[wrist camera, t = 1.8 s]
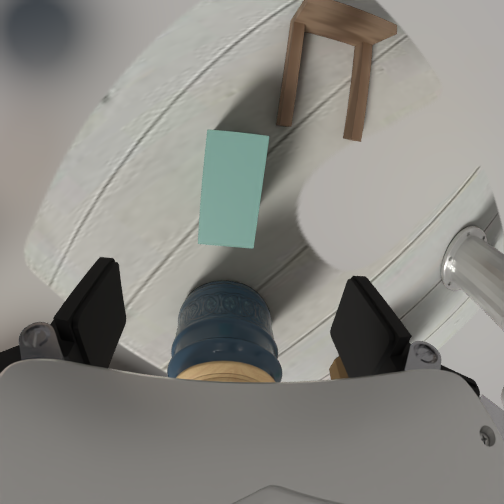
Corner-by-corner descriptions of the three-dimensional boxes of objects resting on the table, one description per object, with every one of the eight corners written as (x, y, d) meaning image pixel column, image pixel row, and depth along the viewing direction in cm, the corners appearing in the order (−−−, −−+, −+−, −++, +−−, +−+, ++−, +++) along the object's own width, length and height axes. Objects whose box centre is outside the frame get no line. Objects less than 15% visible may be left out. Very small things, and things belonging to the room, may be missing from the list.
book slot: (364, 41, 24) (396, 25, 17) (351, 140, 30) (385, 146, 22) (290, 20, 23) (308, -7, 16) (276, 124, 29) (291, 123, 21)
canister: (283, 291, 38) (314, 395, 22) (251, 354, 43) (262, 450, 27) (191, 266, 35) (168, 372, 19) (173, 336, 40) (154, 435, 24)
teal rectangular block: (258, 134, 29) (269, 136, 21) (247, 217, 33) (253, 248, 25) (214, 129, 28) (207, 129, 20) (205, 213, 33) (197, 243, 24)
